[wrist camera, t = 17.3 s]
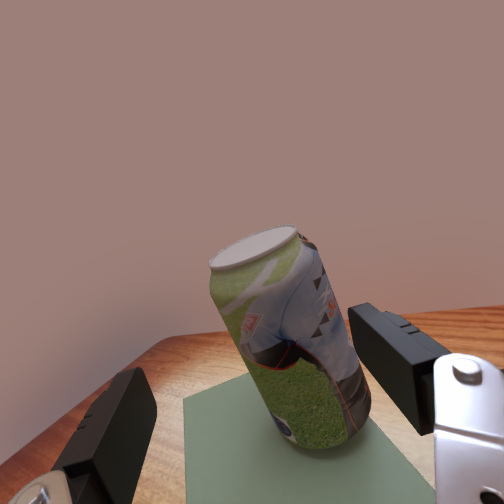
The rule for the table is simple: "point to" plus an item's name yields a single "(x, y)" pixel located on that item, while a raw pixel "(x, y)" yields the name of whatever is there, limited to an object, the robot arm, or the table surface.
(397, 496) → the green open cubby
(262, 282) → the beverage can
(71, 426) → the table surface
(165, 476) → the table surface
